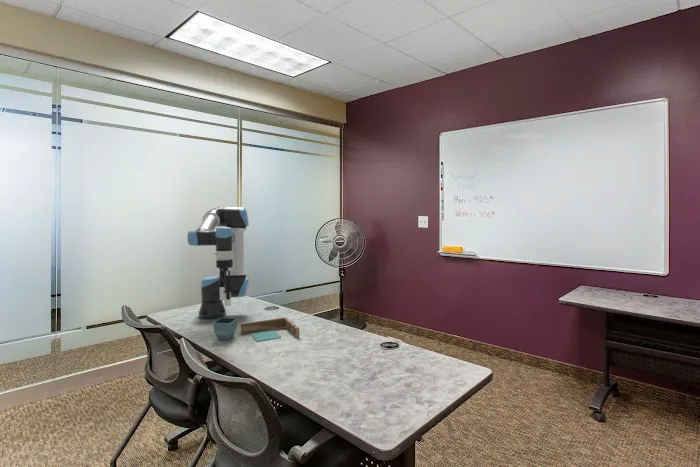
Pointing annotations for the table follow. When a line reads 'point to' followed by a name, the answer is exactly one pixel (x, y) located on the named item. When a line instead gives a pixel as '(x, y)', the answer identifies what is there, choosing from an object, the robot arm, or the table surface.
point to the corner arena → (270, 326)
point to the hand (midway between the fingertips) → (225, 302)
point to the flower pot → (225, 328)
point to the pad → (265, 335)
